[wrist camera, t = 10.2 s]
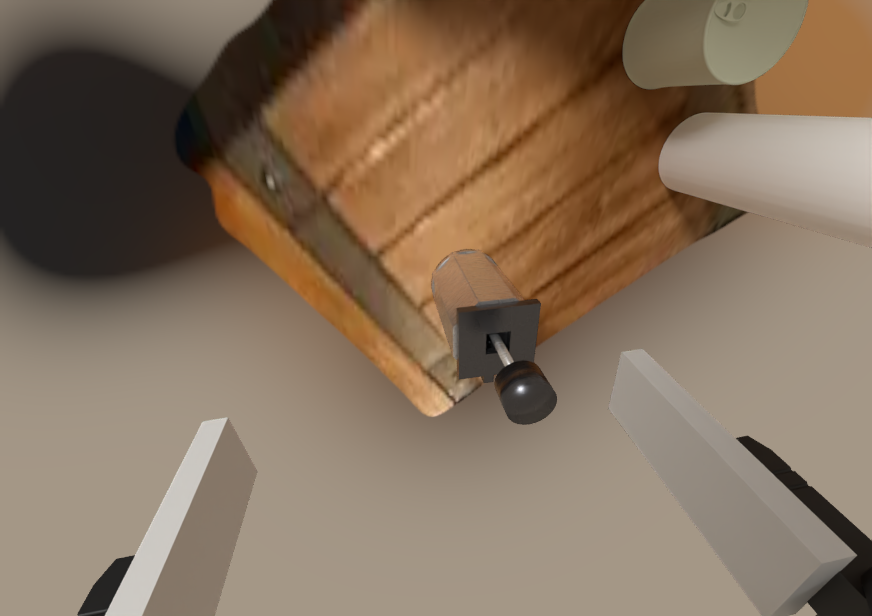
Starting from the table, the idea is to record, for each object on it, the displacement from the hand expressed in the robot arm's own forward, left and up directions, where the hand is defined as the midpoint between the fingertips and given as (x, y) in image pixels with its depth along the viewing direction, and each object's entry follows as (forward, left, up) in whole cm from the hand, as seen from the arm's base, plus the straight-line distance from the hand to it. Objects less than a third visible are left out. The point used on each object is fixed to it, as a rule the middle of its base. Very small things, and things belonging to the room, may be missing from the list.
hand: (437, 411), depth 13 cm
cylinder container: (-2, +39, -36) cm, 54 cm away
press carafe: (+14, +9, -36) cm, 40 cm away
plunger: (+13, +9, -32) cm, 36 cm away
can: (-14, +31, -36) cm, 50 cm away
